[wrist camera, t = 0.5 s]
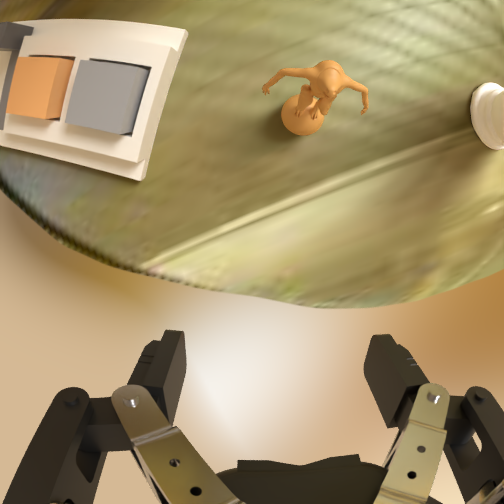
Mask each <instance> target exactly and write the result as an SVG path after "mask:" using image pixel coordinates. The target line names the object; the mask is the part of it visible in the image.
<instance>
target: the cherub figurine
mask: <svg viewBox="0 0 504 504" xmlns="http://www.w3.org/2000/svg"><path fill="white" fill-rule="evenodd" d="M472 94H473V95H472V100H471V101H472V102H471V105H470V111H471V120H472V124H473V127H474V130H475V131H476V133H477V135H478V136H479V138H480V139H481V141H482V142H483V143H484V144H485V145H486V146H488V147H489V148H491V149H495V150H500V149H503V148H504V89H503V88H502V87H501V86H499V85H498V84H495V83H484V84H482V85H481V86H479V87H478V88H477V89H476V90H475V91H474V92H473V93H472Z"/></svg>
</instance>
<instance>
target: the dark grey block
mask: <svg viewBox="0 0 504 504" xmlns="http://www.w3.org/2000/svg"><path fill="white" fill-rule="evenodd" d="M33 29H34V27H31V26H26V25H22V24H17V23H12V22H2V23H0V51H20V49H21V46H22V42H23V39H24V36H31V35H32V32H33Z"/></svg>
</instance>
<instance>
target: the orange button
mask: <svg viewBox="0 0 504 504" xmlns="http://www.w3.org/2000/svg"><path fill="white" fill-rule="evenodd" d="M73 64H74V60H68V59H62V58H49V57H18V59H17V62H16V66H15V70H14V74H13V78H12V83H11V87H10V92H9V97H8V102H7V108H6V113H9V114H16V115H22V116H29V117H35V118H41V119H50V118H58V117H61V112H62V108H63V103H64V99H65V94H66V90H67V86H68V82H69V79H70V75H71V71H72V68H73Z"/></svg>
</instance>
